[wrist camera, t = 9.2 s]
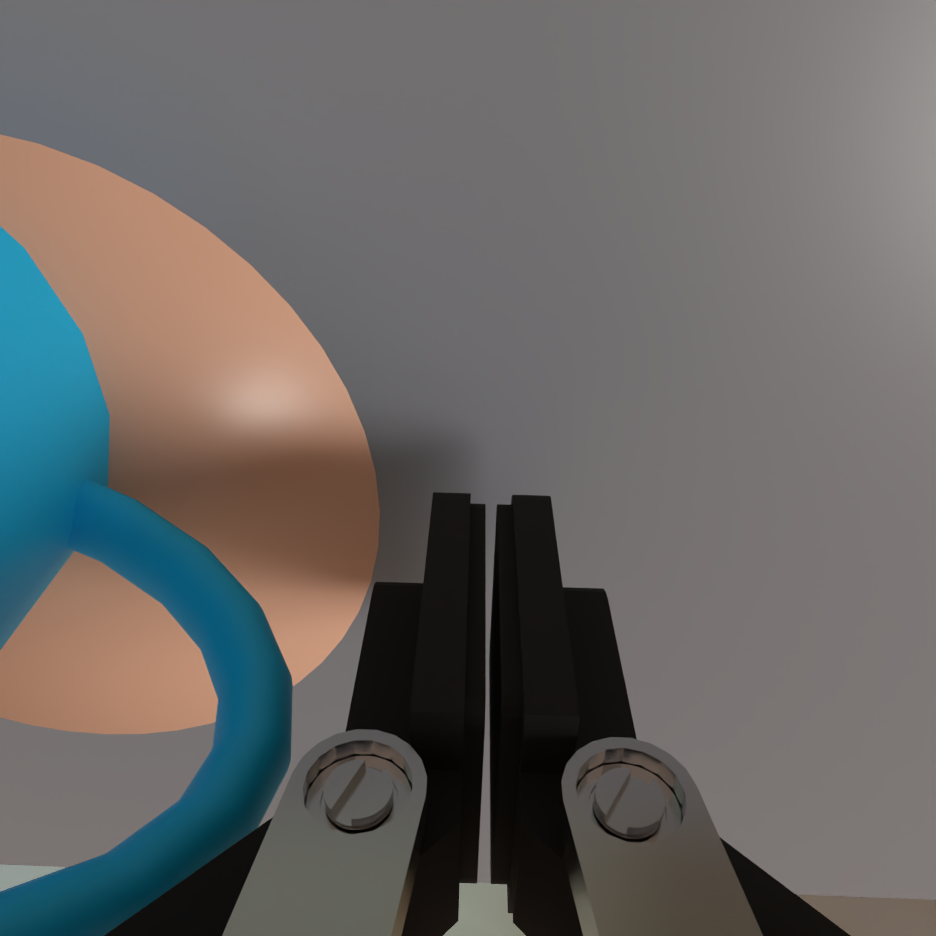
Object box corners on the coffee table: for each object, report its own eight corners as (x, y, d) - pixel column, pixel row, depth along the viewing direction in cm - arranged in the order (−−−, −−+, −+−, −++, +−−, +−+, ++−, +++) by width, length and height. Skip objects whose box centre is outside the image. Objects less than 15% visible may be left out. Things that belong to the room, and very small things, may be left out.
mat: (-1190, -432, 7) (-1213, -439, 7) (2441, -305, 7) (2468, -309, 7) (-248, 850, 18) (-252, 855, 18) (1257, 907, 18) (1261, 912, 18)
